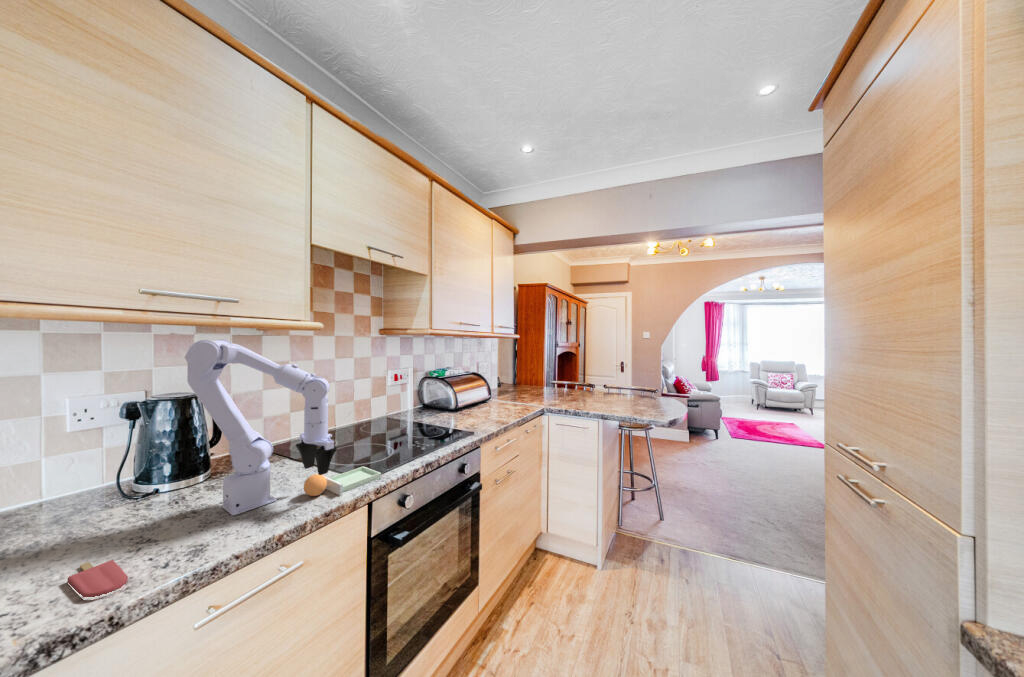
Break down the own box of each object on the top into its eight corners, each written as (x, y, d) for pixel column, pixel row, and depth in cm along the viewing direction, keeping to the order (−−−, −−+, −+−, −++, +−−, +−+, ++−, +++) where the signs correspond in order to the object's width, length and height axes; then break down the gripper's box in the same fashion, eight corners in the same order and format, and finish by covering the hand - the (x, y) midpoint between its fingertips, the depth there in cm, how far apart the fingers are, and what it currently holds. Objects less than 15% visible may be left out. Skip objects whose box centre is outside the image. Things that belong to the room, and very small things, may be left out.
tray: (344, 492, 95) (344, 486, 95) (326, 483, 100) (326, 478, 100) (381, 477, 105) (381, 472, 105) (363, 470, 110) (363, 466, 110)
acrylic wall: (340, 495, 93) (340, 484, 93) (317, 484, 100) (318, 474, 100) (342, 494, 93) (342, 484, 93) (319, 484, 100) (320, 474, 100)
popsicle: (105, 552, 66) (133, 578, 59) (105, 560, 66) (133, 587, 59) (60, 568, 61) (85, 599, 54) (60, 577, 61) (85, 608, 54)
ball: (309, 501, 89) (310, 480, 89) (299, 496, 92) (299, 475, 92) (330, 493, 94) (331, 473, 94) (320, 488, 97) (320, 469, 97)
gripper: (345, 422, 93) (344, 471, 93) (317, 415, 100) (317, 460, 101) (318, 428, 87) (318, 480, 87) (291, 419, 95) (291, 468, 95)
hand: (315, 470), depth 93 cm, fingers open, 7 cm apart
